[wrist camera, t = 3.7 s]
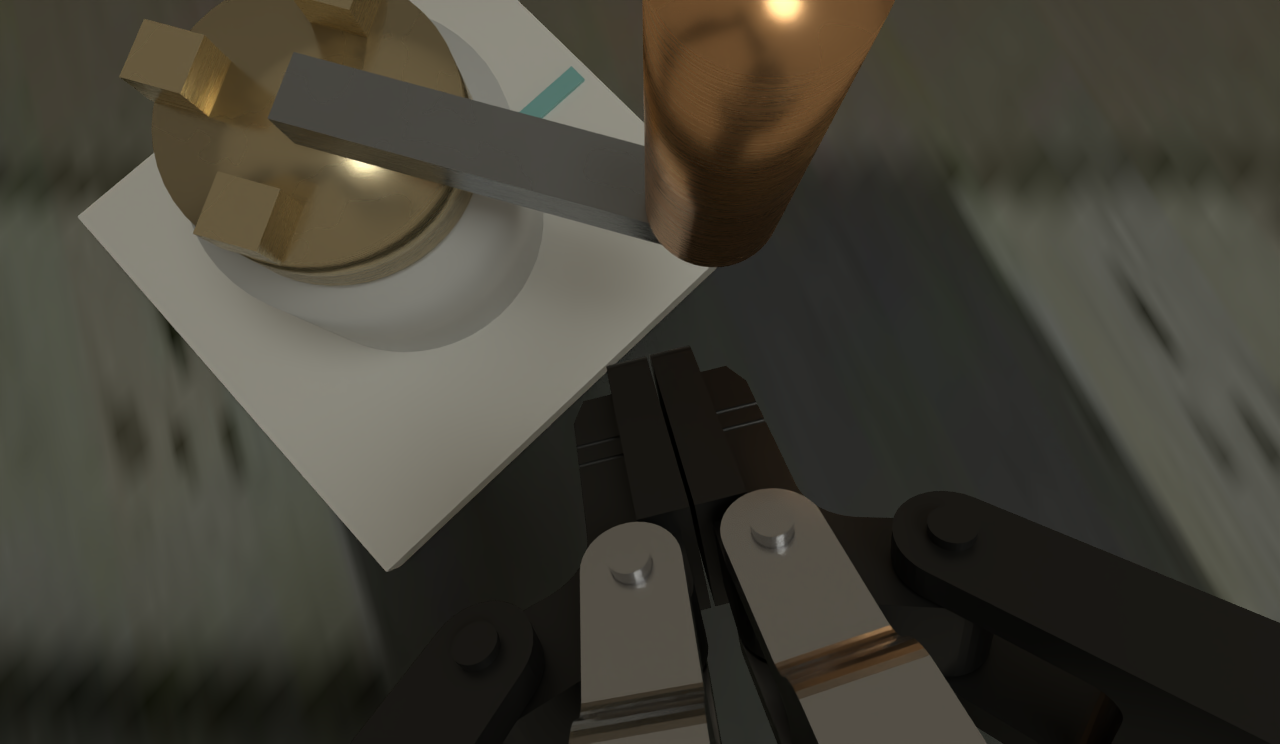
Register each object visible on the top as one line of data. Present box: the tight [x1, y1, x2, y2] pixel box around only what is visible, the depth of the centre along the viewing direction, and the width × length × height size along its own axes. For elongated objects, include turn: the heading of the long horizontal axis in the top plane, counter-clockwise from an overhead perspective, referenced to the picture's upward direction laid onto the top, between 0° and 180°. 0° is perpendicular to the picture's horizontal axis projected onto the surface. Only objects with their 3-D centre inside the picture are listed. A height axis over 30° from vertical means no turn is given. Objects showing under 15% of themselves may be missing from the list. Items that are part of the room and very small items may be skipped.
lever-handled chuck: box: [119, 0, 895, 286], centre depth 15 cm, size 18×9×12 cm, turn 74°
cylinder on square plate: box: [78, 0, 717, 572], centre depth 26 cm, size 20×20×8 cm
